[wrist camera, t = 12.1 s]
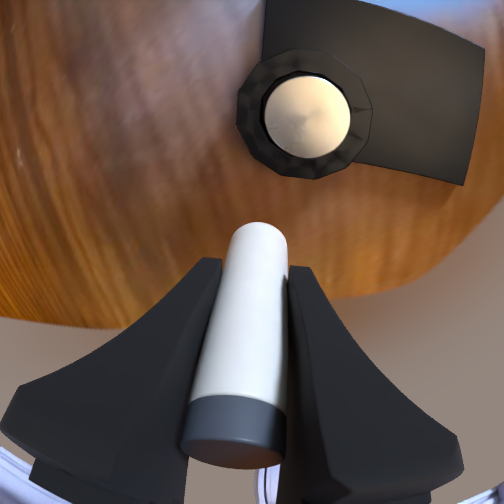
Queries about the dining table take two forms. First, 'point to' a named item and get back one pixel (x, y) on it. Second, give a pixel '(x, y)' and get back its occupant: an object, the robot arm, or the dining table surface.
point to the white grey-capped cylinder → (243, 359)
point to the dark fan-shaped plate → (370, 87)
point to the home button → (307, 116)
